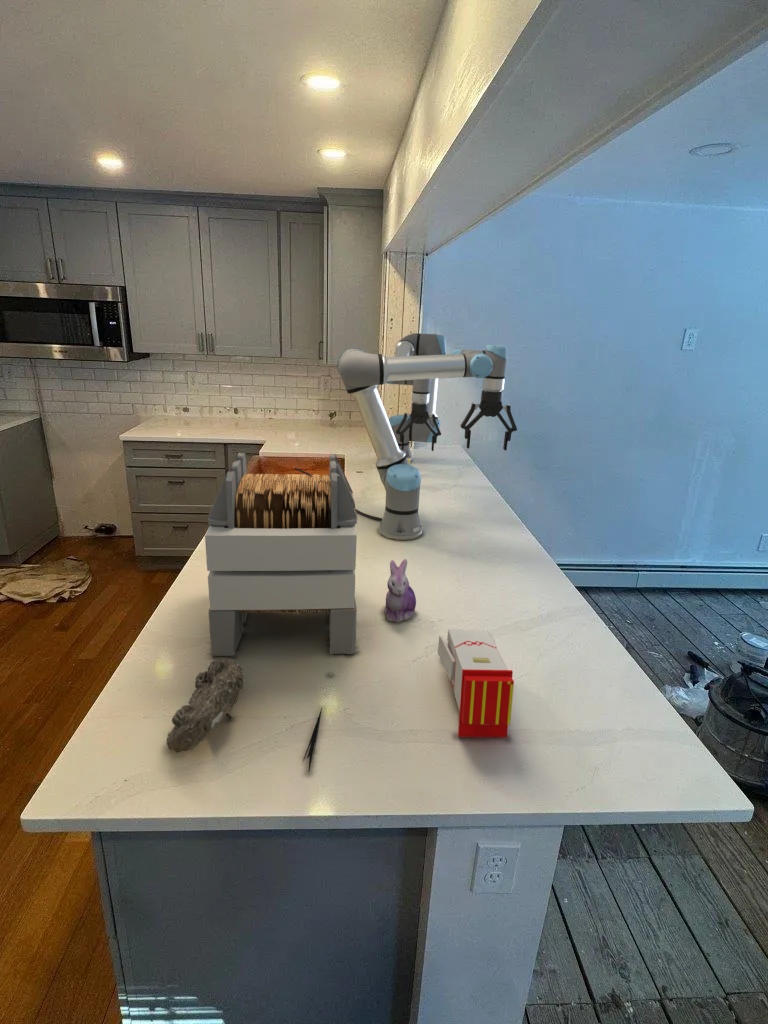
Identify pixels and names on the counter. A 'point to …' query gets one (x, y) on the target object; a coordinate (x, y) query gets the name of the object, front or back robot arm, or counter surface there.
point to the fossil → (206, 705)
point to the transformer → (281, 552)
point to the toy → (478, 682)
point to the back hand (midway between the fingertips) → (417, 449)
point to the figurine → (399, 594)
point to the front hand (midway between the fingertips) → (486, 448)
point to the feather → (313, 740)
